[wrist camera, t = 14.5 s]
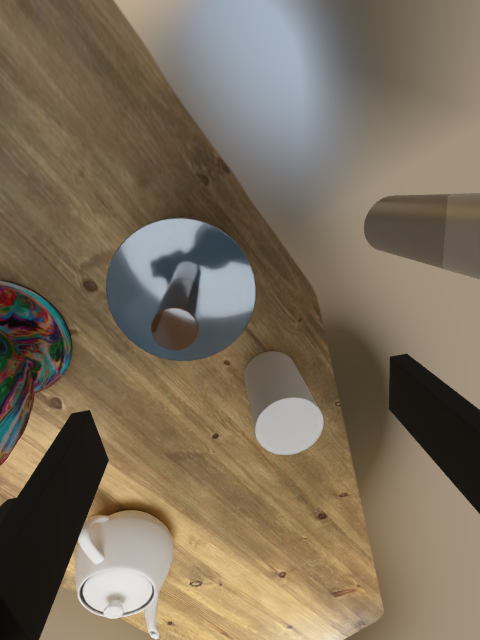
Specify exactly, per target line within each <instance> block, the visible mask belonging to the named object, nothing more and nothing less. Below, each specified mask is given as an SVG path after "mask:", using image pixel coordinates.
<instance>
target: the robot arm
mask: <svg viewBox="0 0 480 640" xmlns="http://www.w3.org/2000/svg"><path fill="white" fill-rule="evenodd" d="M389 381H390V382H389V409H390V411H391V412H392V413H393V414H394V415H395V416H396V418H397V419H398V420H399V421H400V422H401V423H402V425H403V426H404V427H405V428H406V429H407V430H408V432H409V433H410V434H411V435H412V436H413V437H414V438H415V440H416V441H417V442H418V443H419V444H420V445H421V447H423V449H424V450H425V451H426V452H427V453H428V455H429V456H430V457H431V458H432V459H433V460H434V462H435V463H436V464H437V465H438V466H439V467H440V469H441V470H442V471H443V472H444V473H445V474H446V475H447V477H449V479H450V480H451V481H452V482H453V484H454V485H455V486H456V487H457V488H458V489H459V490H460V492H461V493H462V494H463V495H464V496H465V497H466V499H467V500H468V501H469V502H470V503H471V504H472V506H473V507H475V509H476V510H477V511H478V512H479V513H480V410H479V409H478V408H477V407H475V406H474V405H473V404H471V403H470V402H469V401H467V400H466V399H465V398H464V397H462V396H461V395H460V394H458V393H457V392H456V391H454V390H453V389H452V388H450V387H449V386H448V385H447V384H445V383H444V382H443V381H442V380H440V379H439V378H437V377H436V376H435V375H434V374H432V373H431V372H430V371H429V370H427V369H426V368H425V367H423V366H422V365H421V364H420V363H418V362H417V361H416V360H414V359H413V358H411V357H410V356H409V355H408V354H403V355H398V356H392V357H390V380H389ZM108 461H109V460H108V457H107V454H106V452H105V449H104V446H103V444H102V441H101V438H100V436H99V433H98V430H97V428H96V425H95V423H94V420H93V417H92V415H91V412H90V410H88V411H82V412H77V413H72V414H71V415H70V417H69V418H68V420H67V421H66V423H65V425H64V426H63V428H62V429H61V431H60V432H59V434H58V435H57V437H56V438H55V440H54V442H53V443H52V445H51V446H50V448H49V449H48V451H47V452H46V454H45V455H44V457H43V458H42V460H41V462H40V463H39V465H38V466H37V468H36V469H35V471H34V472H33V474H32V475H31V477H30V479H29V480H28V482H27V483H26V485H25V486H24V488H23V489H22V491H21V492H20V494H19V495H18V497H17V498H13V499H8V500H7V501H6V502H4V503H3V504H2V505H1V506H0V640H39V638H40V635H41V633H42V631H43V628H44V625H45V623H46V620H47V618H48V615H49V613H50V610H51V607H52V604H53V602H54V600H55V597H56V595H57V592H58V589H59V587H60V584H61V582H62V579H63V577H64V574H65V571H66V569H67V566H68V564H69V561H70V559H71V556H72V553H73V551H74V548H75V546H76V543H77V541H78V538H79V535H80V533H81V530H82V528H83V525H84V523H85V520H86V517H87V515H88V512H89V510H90V507H91V505H92V502H93V499H94V497H95V494H96V492H97V489H98V487H99V484H100V481H101V479H102V476H103V474H104V471H105V469H106V466H107V463H108Z"/></svg>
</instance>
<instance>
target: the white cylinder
mask: <svg viewBox="0 0 480 640" xmlns="http://www.w3.org/2000/svg"><path fill="white" fill-rule="evenodd" d="M244 382H245V387H246V392H247V396H248V401H249V406H250V410H251V415H252V420H253V424H254V429H255V434H256V438H257V440H258V442H259V443H260V445H261V446H262V447H263V448H265V449H266V450H268V451H270V452H272V453H275V454H280V455H290V454H295V453H298V452H301V451H303V450H305V449H307V448H308V447H310V446H311V445H312V444H313V443H314V442H315V441H316V440H317V439H318V437H319V436H320V434H321V432H322V429H323V416H322V413H321V411H320V409H319V408H318V406H317V404H316V402H315V400H314V398H313V397H312V395H311V393H310V391H309V389H308V387H307V386H306V384H305V382H304V380H303V378H302V376H301V375H300V373H299V371H298V369H297V367H296V365H295V364H294V362H293V360H292V359H291V358H290V357H289V356H287V355H286V354H284V353H281V352H277V351H269V352H264V353H261V354H259V355H257V356H255V357H254V358H253V359H252V360H251V361H250V362H249V363H248V365H247V366H246V368H245V371H244Z"/></svg>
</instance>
